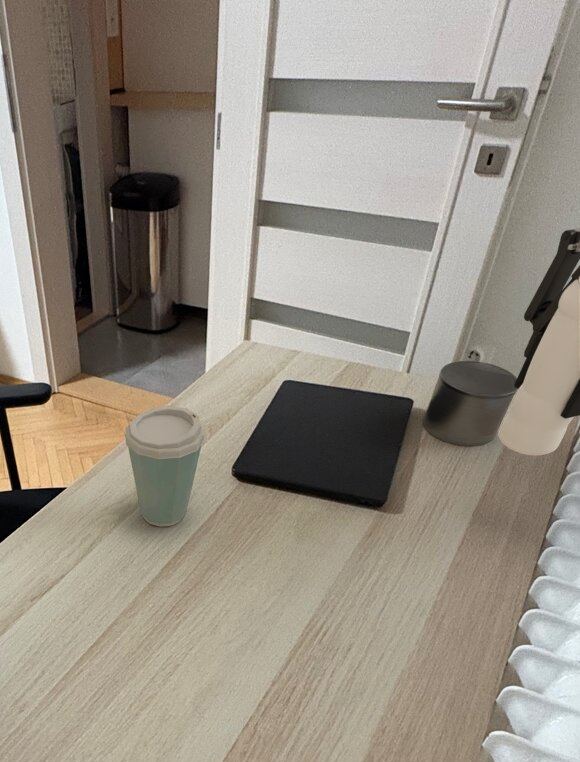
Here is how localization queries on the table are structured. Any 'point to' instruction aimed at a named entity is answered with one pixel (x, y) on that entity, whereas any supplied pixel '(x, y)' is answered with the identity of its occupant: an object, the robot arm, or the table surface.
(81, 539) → the table surface
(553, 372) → the water bottle
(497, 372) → the tin
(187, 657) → the table surface
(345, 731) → the table surface
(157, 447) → the disposable coffee cup
